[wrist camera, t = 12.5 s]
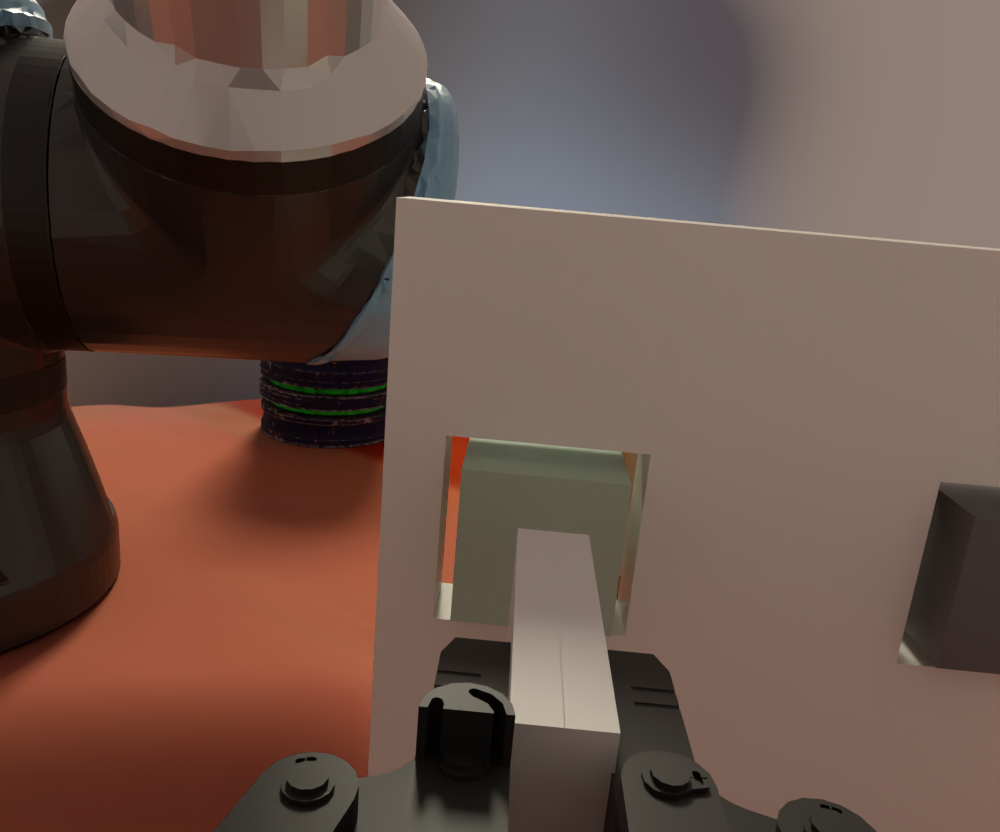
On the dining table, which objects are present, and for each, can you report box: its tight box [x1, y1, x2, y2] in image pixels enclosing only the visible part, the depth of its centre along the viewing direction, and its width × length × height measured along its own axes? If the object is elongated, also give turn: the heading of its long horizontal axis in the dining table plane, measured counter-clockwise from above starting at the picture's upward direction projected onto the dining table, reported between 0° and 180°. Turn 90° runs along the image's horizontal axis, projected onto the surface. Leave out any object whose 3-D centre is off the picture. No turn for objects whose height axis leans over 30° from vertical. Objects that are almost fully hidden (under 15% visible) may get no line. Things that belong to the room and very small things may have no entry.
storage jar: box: [259, 357, 389, 448], centre depth 59 cm, size 10×10×15 cm
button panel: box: [368, 196, 1000, 832], centre depth 24 cm, size 20×6×18 cm, turn 88°
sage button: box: [450, 438, 632, 636], centre depth 23 cm, size 4×6×4 cm, turn 178°
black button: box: [904, 482, 1000, 674], centre depth 23 cm, size 4×6×4 cm, turn 178°
